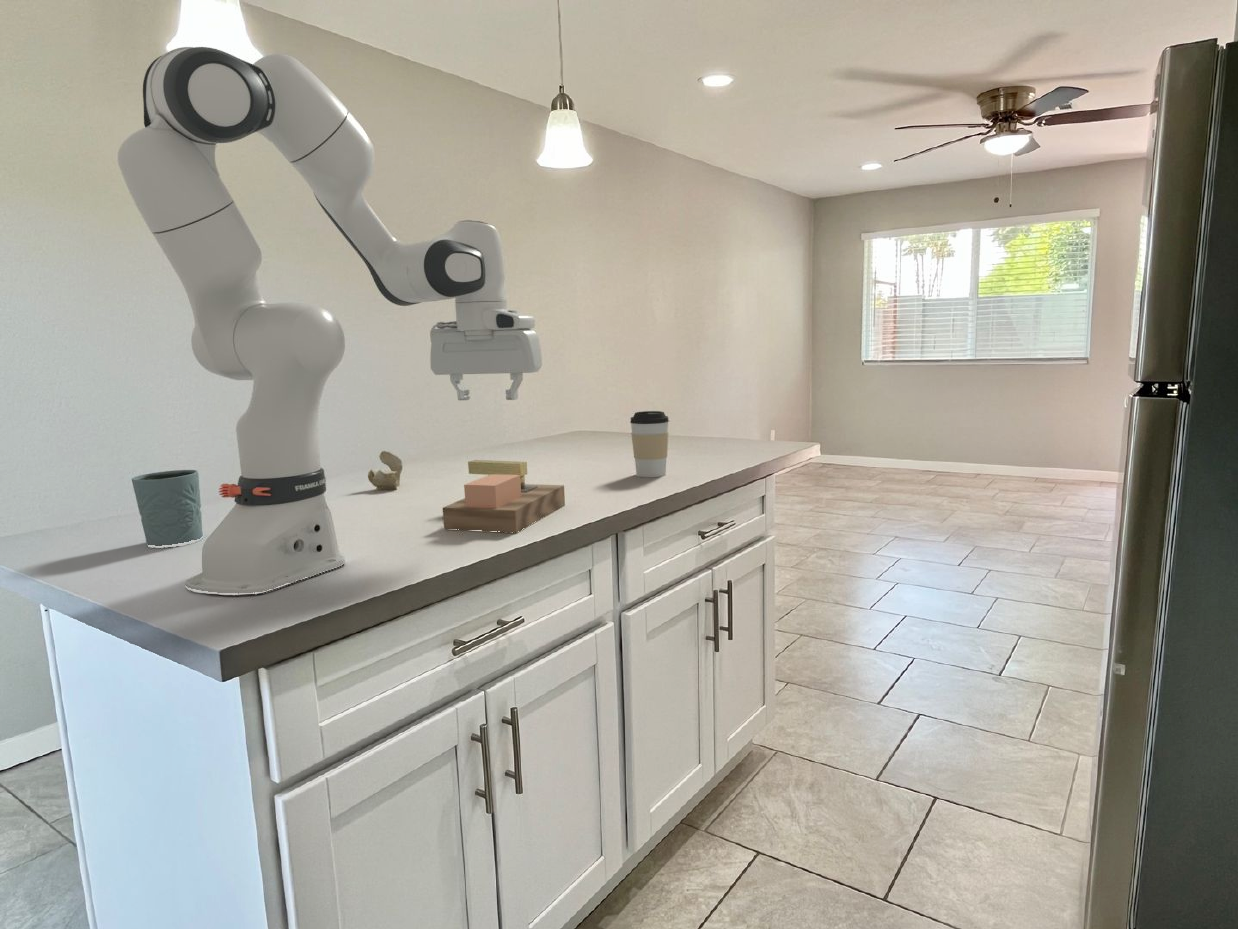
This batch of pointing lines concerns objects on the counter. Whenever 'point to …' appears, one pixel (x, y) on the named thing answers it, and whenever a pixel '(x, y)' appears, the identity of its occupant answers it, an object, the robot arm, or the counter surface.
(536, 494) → the base
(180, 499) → the green embossed plant pot
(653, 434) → the coffee cup
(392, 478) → the tan squirrel figurine
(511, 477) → the salmon orange block
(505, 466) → the yellow lever handle
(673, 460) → the counter surface
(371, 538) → the counter surface
